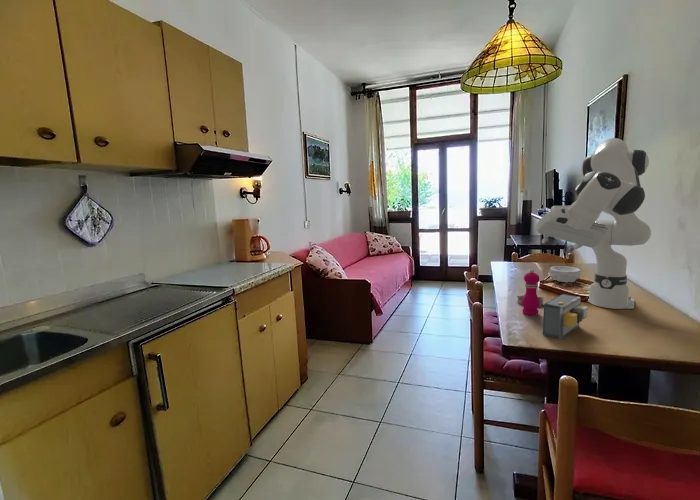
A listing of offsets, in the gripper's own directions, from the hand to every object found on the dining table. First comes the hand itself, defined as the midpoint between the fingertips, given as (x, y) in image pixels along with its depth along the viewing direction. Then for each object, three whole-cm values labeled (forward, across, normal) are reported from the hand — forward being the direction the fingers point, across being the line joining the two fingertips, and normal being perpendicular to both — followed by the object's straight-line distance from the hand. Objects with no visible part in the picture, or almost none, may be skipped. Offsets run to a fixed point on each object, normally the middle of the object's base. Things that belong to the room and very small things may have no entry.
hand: (556, 246), depth 130 cm
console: (+27, -14, +14) cm, 34 cm away
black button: (+21, -16, +13) cm, 30 cm away
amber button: (+20, -13, +17) cm, 29 cm away
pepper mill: (+40, -10, -1) cm, 41 cm away
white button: (+23, -20, +9) cm, 31 cm away
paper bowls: (+65, -46, -56) cm, 97 cm away
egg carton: (+48, -14, -14) cm, 52 cm away
